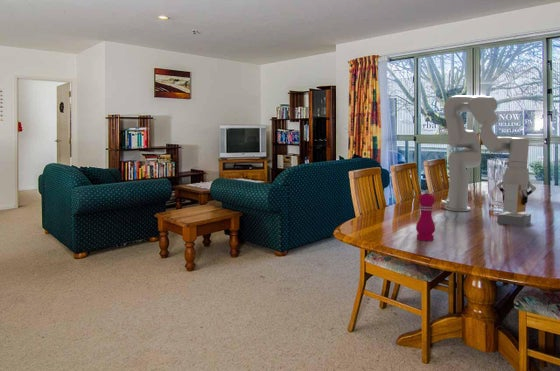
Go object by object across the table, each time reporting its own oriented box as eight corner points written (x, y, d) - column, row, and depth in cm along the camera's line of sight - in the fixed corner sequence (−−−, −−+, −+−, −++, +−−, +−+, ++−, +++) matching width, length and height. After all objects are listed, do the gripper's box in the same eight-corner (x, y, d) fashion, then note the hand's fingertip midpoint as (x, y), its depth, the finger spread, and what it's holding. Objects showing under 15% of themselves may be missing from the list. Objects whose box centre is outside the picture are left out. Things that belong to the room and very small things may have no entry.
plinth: (497, 222, 198) (497, 214, 197) (504, 219, 206) (505, 210, 205) (523, 226, 190) (524, 217, 190) (530, 222, 198) (531, 213, 198)
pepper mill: (418, 236, 176) (420, 187, 173) (436, 238, 172) (439, 189, 169) (413, 239, 170) (415, 190, 167) (431, 242, 166) (434, 191, 163)
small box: (516, 213, 193) (518, 184, 191) (502, 211, 198) (504, 183, 196) (525, 211, 197) (528, 183, 195) (512, 209, 203) (514, 181, 201)
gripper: (494, 164, 198) (492, 202, 200) (537, 166, 186) (534, 207, 189) (499, 163, 203) (497, 200, 206) (541, 165, 191) (538, 204, 194)
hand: (514, 203), depth 197 cm, fingers closed on small box, 7 cm apart
